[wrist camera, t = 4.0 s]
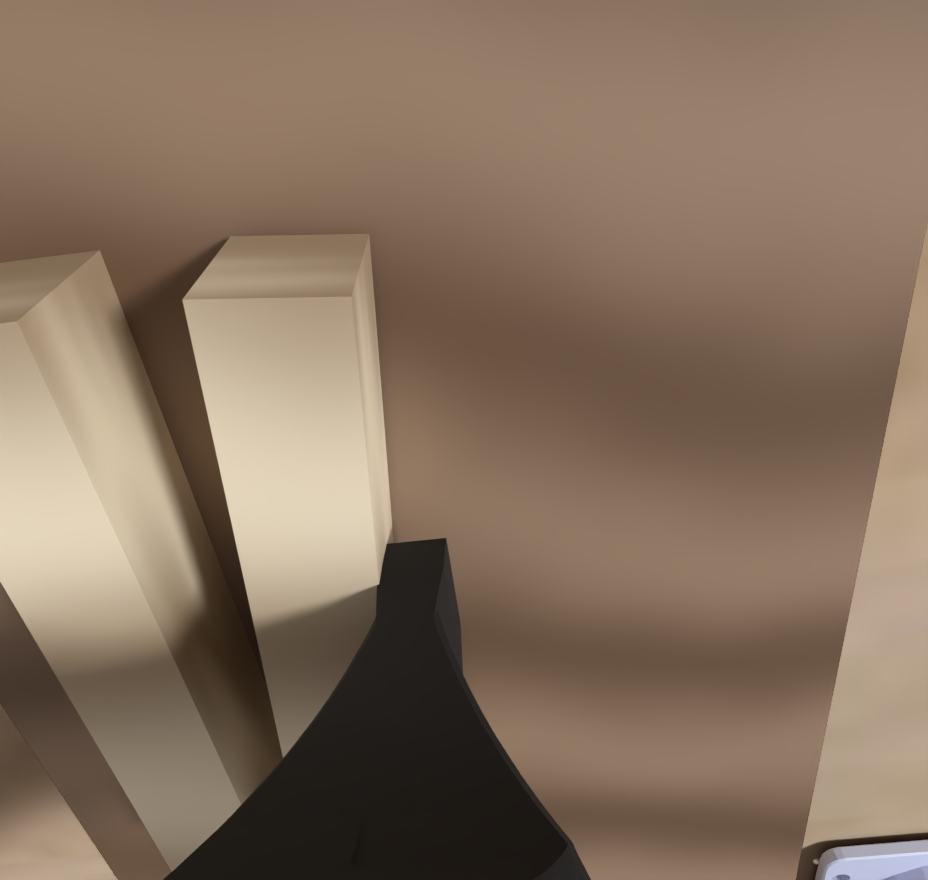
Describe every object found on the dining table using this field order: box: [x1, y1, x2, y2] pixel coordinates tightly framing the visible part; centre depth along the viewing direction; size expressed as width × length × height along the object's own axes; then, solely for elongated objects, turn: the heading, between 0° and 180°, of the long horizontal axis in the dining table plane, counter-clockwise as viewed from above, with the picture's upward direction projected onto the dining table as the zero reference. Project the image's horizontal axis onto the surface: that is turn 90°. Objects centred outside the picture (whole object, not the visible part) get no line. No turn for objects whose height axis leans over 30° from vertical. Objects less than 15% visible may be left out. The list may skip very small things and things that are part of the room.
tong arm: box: [182, 234, 394, 758], centre depth 14 cm, size 13×2×2 cm, turn 1°
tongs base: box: [0, 0, 928, 880], centre depth 16 cm, size 26×18×4 cm
